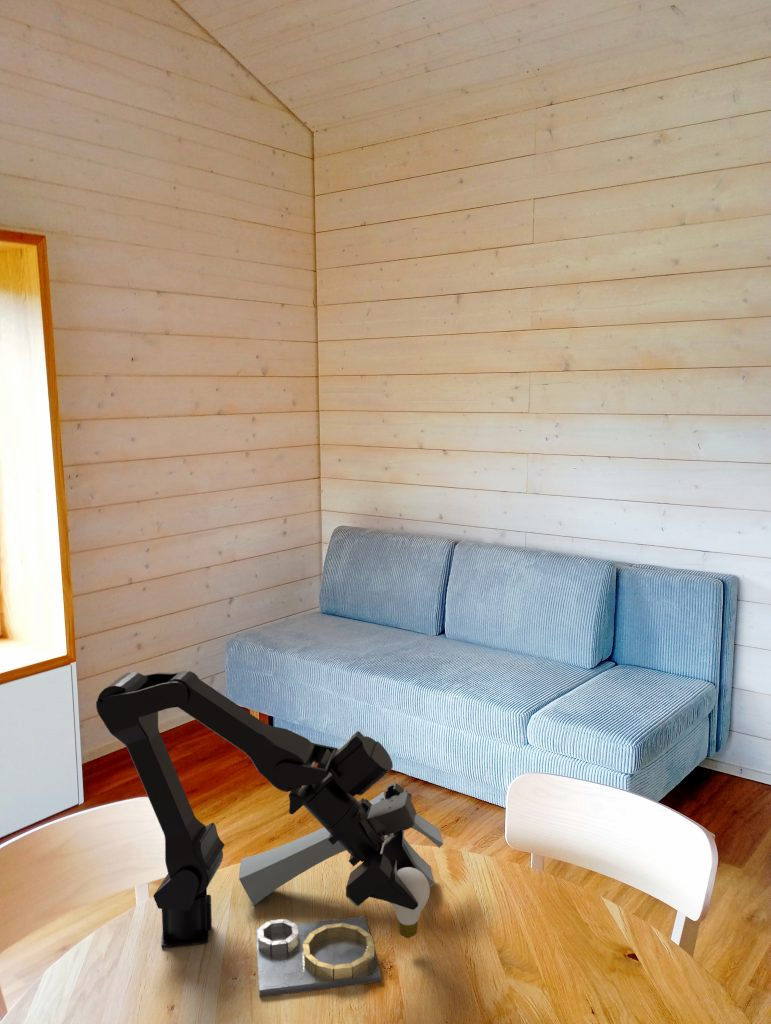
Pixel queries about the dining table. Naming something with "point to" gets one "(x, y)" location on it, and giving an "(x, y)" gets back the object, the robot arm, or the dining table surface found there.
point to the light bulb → (420, 891)
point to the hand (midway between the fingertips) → (418, 893)
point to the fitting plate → (314, 955)
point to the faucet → (312, 858)
